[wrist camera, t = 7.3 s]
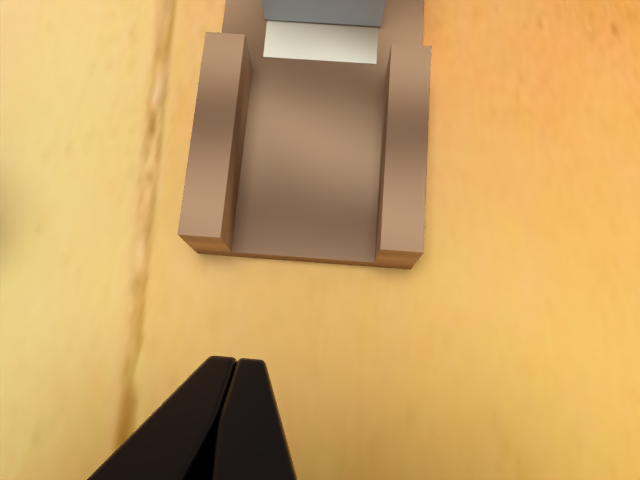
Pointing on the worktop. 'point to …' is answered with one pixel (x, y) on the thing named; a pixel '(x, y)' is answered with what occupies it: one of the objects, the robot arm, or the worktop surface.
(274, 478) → the robot arm
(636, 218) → the worktop surface
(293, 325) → the worktop surface
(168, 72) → the worktop surface
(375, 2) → the block
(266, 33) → the tan cradle
